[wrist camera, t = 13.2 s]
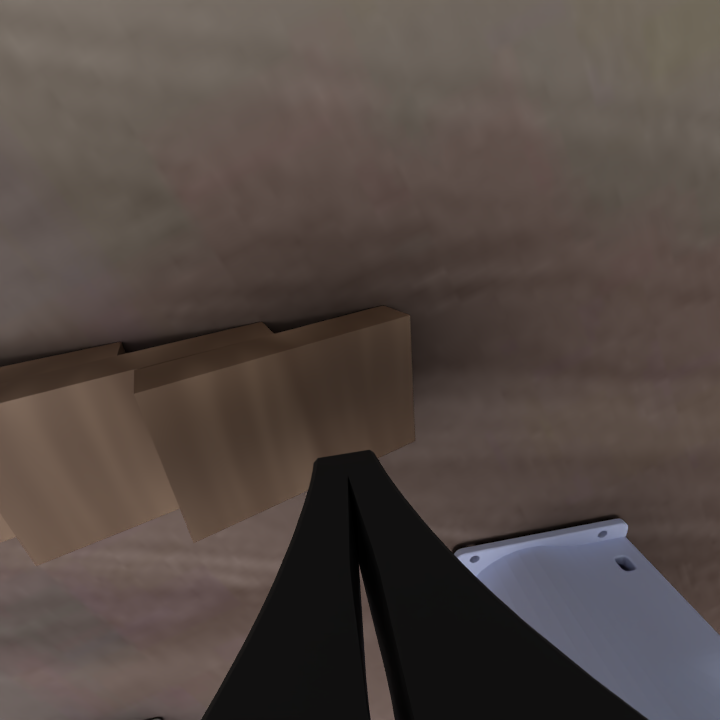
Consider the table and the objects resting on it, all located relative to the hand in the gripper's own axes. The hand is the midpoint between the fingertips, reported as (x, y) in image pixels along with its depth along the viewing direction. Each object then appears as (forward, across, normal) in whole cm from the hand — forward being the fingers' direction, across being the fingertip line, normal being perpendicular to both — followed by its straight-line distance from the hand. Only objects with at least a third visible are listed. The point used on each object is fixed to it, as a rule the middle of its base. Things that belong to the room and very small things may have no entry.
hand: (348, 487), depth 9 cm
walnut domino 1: (+5, +2, 0) cm, 6 cm away
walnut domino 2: (+5, -2, 0) cm, 6 cm away
